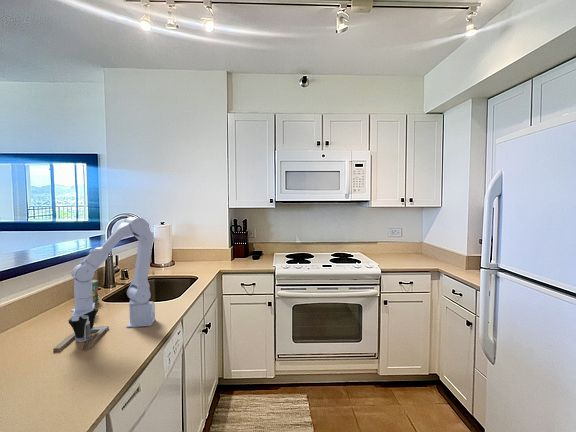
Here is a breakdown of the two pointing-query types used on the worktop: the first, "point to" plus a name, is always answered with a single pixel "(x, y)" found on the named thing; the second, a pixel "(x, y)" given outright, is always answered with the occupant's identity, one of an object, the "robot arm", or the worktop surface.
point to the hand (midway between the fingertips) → (84, 333)
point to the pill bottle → (86, 331)
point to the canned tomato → (95, 289)
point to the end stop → (96, 329)
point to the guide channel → (85, 346)
